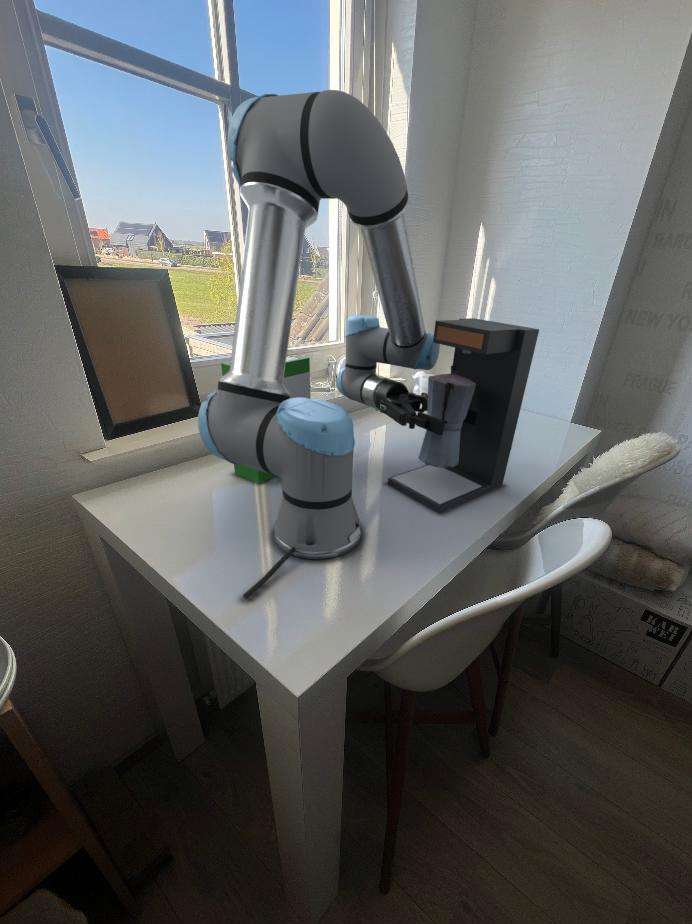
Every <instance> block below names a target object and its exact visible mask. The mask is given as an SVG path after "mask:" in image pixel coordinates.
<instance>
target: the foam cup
mask: <svg viewBox="0 0 692 924" xmlns="http://www.w3.org/2000/svg"><path fill="white" fill-rule="evenodd" d="M425 374H426V373H425ZM434 375H435V374H431V373H430V374H429V373H427V374H426V375H421V376H420V381H419V385H420V395H421V393H423V392H424V393H427V394H428V378H429V376H434ZM420 408H422V404H420ZM423 413H425V414H427V415H428V413H427V411H424V412H423Z"/></svg>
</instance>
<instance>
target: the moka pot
mask: <svg viewBox="0 0 692 924" xmlns="http://www.w3.org/2000/svg"><path fill="white" fill-rule="evenodd" d="M452 365H453V364H452ZM452 365H450V373H442V374H433V375H434V376H429V378H428V408H427V413H428V415H430V416H432V417H435V418H438V419H440V420H443V421H445V423H444V430H443V435H438V434H435V433H433V432H431V431H428V430H426V429H425V433H424V437H423V441H422V444H421V446H420V447H421V448H420V451H419V454H418V460H419V461H420V462H421V463H423V464H424V465H431V466H434V467H442V468H447V467H454V466H457V465H458V463H459V448H460V432H461V427H462V423H463V420H464V419H465V418H466V415H467V412H468V408H469V405H470V402H471V399H472V396H473V393H474V390H475V387H476V383H474V382H473V381H471V380H469V379H467V378H464V377H462V376H459V375H456V373H457V370H458V367H457V366H455V365H453V366H452Z"/></svg>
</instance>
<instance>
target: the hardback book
mask: <svg viewBox="0 0 692 924" xmlns="http://www.w3.org/2000/svg"><path fill="white" fill-rule="evenodd" d="M288 355H289V354H287V357H286V364H285V371H284V378H283V384H284V386H285V388H286V389H287V391H288V392H289V393H290V399H291V398H300V397H304V398H308V399H312V398H311V363H310V362H311V361H310V357H307V356H305V357H299V358H294V357H289V356H288ZM230 364H231V361H227V362H226V361H225V362H221V363H220V366H221V373H222V374H221V375H222V376H224V375H225V374H227V373H228V372H229V370H230ZM233 468H234V475H236V476H238V477H241V478H244V479H246V480H248V481H251V482H253V483H256V484H261V483H263V482H266V481H268V480H270V479H272V478H274V477H276V476H277V475H273V474H270V473H266V472H263V471H260V470H256V469H253V468H249V467H246V466H243V465H235V464H233Z"/></svg>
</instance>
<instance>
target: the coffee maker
mask: <svg viewBox="0 0 692 924" xmlns="http://www.w3.org/2000/svg"><path fill="white" fill-rule="evenodd" d="M539 334H540V329H539V328H535V327H528V326H523V325H522V326H521V325H517V324H512V323H504V322H499V321H493V320H486V319H481V318H474V317H473V318H459V319H448V320H447V319H446V320H445V319H444V320H443V319H442V320H435V322H434V331H433V335H434V339H433V343H437V344H440V345H442V346H447V347H450V348H454V353H453V359H452V365H451V366H453V365H455V366H457V367H458V370H457V373H456V375H459V376H462V377H464V378H467V379H469V380H471V381H473V382H474V383H476V387H475V390H474V393H473V396H472V399H471V402H470V405H469V408H468V409H471V410H474V411H477V412H480V413H479V419H478V424H477V425H472V424H469V423H467V422H464V421H463V423H462V427H461V432H460V448H459V463H458V465H457V466H454V467H447V468H442V467H434V466H431V465H428V464H424V465H422V466H419V467H416V468H412V469H410V470H407V471H403V472H401V473H398V474H395V475H392V476H388V477H387V485H389V486H390V487H392V488H394V489H396V490H397V491H399V492H400V493H403V494H405V495H406V496H408V497H410V498H411V499H413V500H415V501H418V502H419V503H421V504H422V505H424V506H426V507H428V508H429V509H431V510H432V511H435V512H436V513H438V514H442V513H444V512H447V511H449V510H451V509H453V508H455V507H458V506H459V505H463V504H464V503H467V502H469V501H471V500H474V499H476V498H478V497H481V496H483V495H485V494H487V493H490V492H491V491H493V490H497V489H499V488H500V487H503V485H504V480H505V477H506V472H507V468H508V465H509V464H508V463H509V459H510V455H511V451H512V448H513V447H512V446H513V443H514V438H515V434H516V431H517V426H518V421H519V417H520V413H521V408H522V405H523V401H524V396H525V392H526V387H527V383H528V379H529V375H530V371H531V367H532V362H533V358H534V354H535V350H536V346H537V342H538V337H539Z"/></svg>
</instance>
